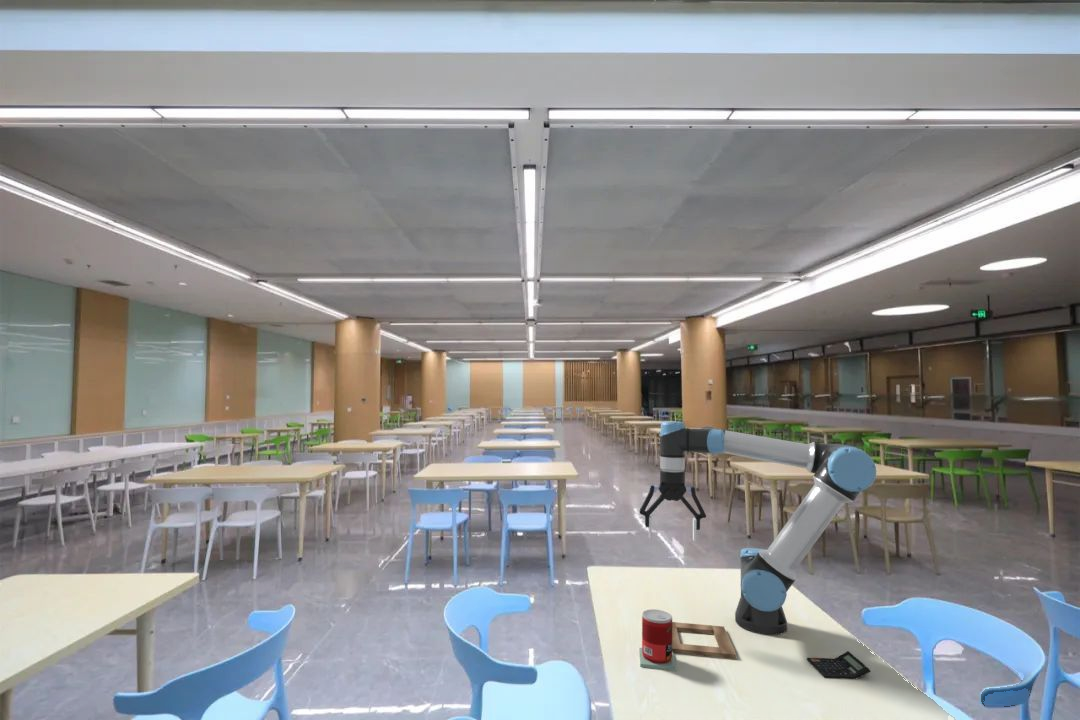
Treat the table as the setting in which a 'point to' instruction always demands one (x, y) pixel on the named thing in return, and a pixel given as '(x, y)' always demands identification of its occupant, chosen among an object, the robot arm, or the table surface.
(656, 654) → the canned food
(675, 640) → the pocket board
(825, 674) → the calculator
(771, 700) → the table surface
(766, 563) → the robot arm
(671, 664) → the plate
